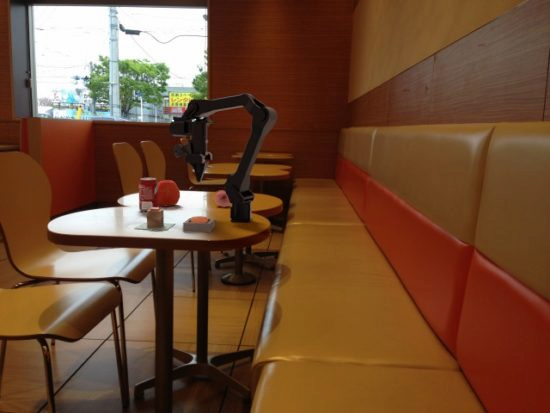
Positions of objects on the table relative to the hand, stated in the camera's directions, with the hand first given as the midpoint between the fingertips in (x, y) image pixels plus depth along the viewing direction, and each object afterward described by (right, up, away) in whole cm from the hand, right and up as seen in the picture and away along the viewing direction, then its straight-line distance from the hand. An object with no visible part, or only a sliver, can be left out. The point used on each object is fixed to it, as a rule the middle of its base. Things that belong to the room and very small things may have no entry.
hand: (198, 181), depth 159 cm
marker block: (-10, -15, -18) cm, 26 cm away
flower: (+6, -9, +24) cm, 26 cm away
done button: (+4, -15, -20) cm, 25 cm away
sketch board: (-10, -15, -18) cm, 26 cm away
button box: (+4, -16, -20) cm, 25 cm away
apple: (-16, -8, +22) cm, 28 cm away
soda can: (-20, -10, +9) cm, 24 cm away
